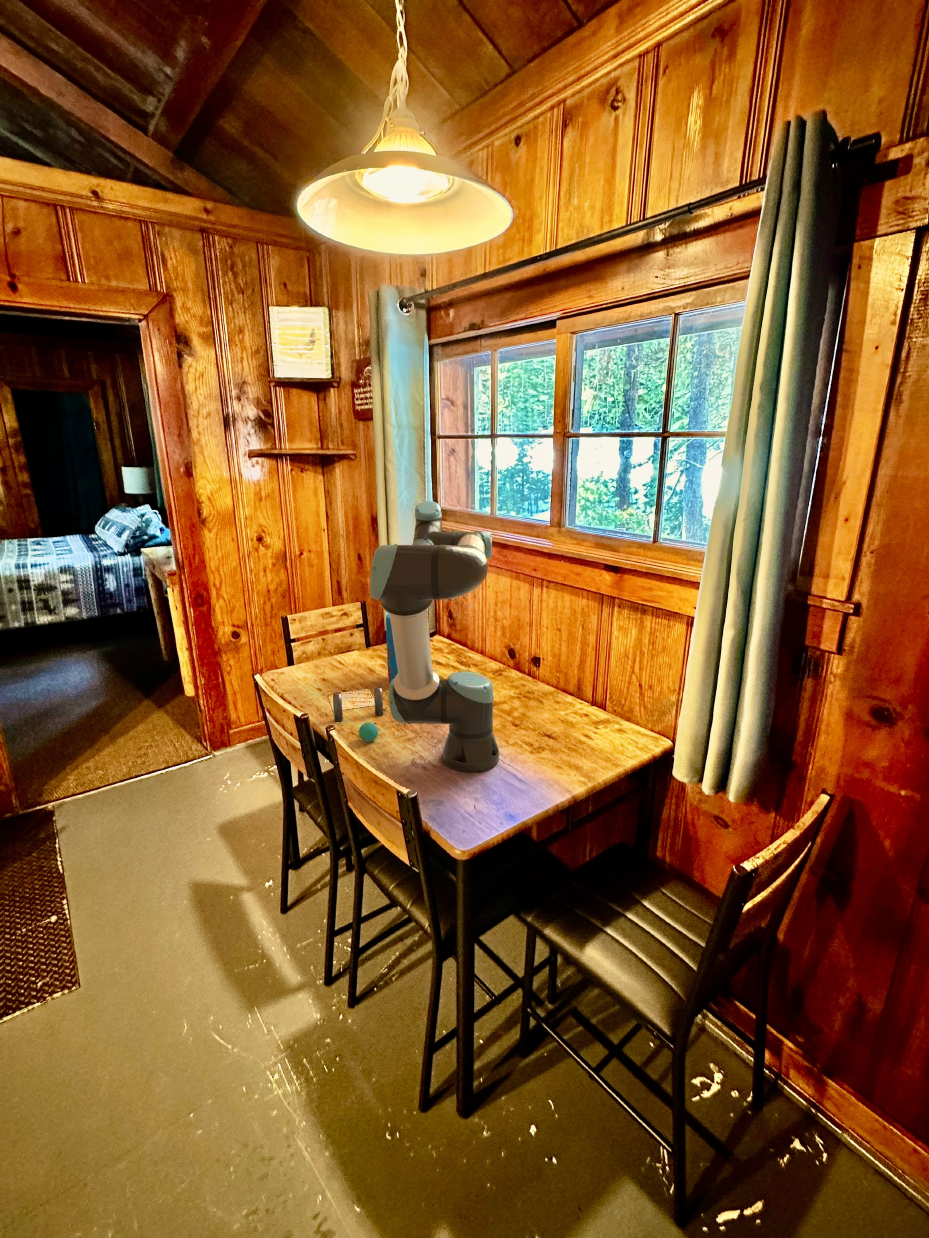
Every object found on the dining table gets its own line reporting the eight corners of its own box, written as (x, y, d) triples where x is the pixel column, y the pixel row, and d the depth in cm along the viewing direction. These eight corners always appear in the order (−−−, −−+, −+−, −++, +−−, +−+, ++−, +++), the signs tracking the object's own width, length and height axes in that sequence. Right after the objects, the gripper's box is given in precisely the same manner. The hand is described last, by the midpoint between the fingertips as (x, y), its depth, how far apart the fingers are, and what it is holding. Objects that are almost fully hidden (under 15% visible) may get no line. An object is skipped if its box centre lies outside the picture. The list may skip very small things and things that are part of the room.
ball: (380, 743, 162) (379, 725, 161) (361, 746, 160) (360, 729, 159) (376, 734, 167) (375, 717, 166) (357, 738, 165) (356, 720, 164)
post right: (384, 715, 179) (382, 688, 177) (375, 716, 179) (374, 690, 176) (382, 712, 182) (381, 685, 179) (374, 713, 181) (372, 687, 178)
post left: (343, 721, 175) (341, 694, 173) (334, 723, 174) (333, 695, 172) (342, 718, 178) (340, 691, 175) (333, 719, 177) (331, 692, 174)
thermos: (422, 678, 209) (421, 612, 202) (412, 689, 199) (410, 620, 192) (395, 675, 212) (392, 610, 205) (383, 686, 202) (380, 618, 195)
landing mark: (376, 705, 187) (376, 704, 187) (333, 711, 182) (333, 711, 182) (368, 689, 199) (368, 688, 199) (327, 695, 195) (327, 694, 195)
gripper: (471, 537, 176) (472, 586, 192) (390, 542, 176) (397, 591, 192) (473, 553, 171) (474, 602, 187) (389, 558, 171) (397, 607, 187)
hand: (435, 596), depth 189 cm, fingers open, 13 cm apart
